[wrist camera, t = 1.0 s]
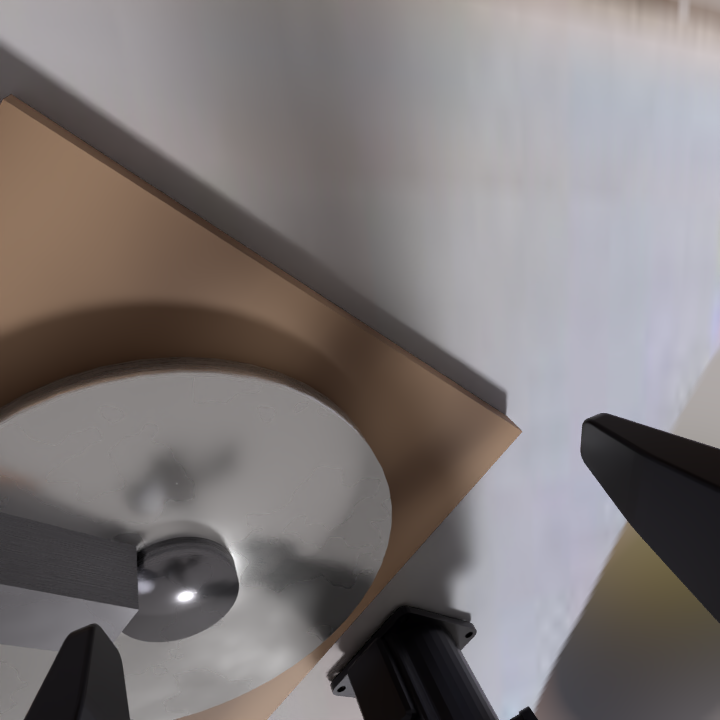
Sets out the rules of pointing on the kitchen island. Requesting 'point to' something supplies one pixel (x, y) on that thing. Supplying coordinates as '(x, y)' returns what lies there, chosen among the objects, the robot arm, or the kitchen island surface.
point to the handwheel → (182, 527)
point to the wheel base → (213, 333)
